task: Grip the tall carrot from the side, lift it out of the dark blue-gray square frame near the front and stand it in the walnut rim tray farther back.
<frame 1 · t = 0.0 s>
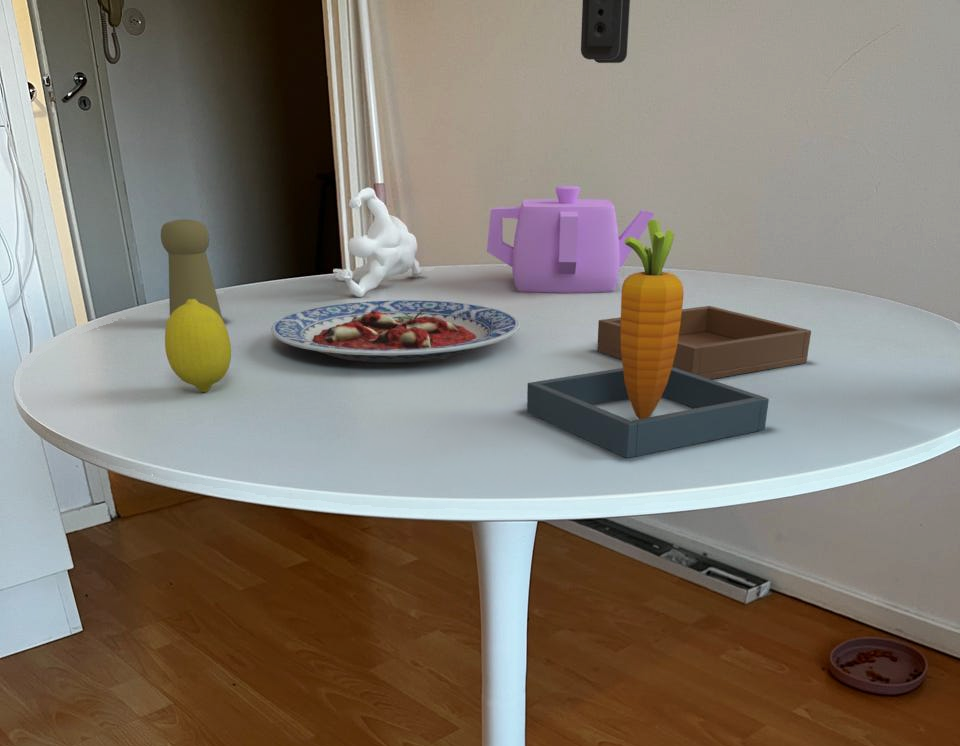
hand: (604, 61, 62), 25 cm above the table, tool pointing down, fingers open, 8 cm apart
walnut tray: (699, 356, 100), on the table
teakettle: (567, 285, 137), on the table
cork: (196, 324, 116), on the table
person figurine: (383, 290, 135), on the table
lemon: (204, 394, 90), on the table
carrot: (642, 423, 81), on the table
ceramic plate: (397, 346, 106), on the table
dark blue-gray square frame: (642, 421, 81), on the table
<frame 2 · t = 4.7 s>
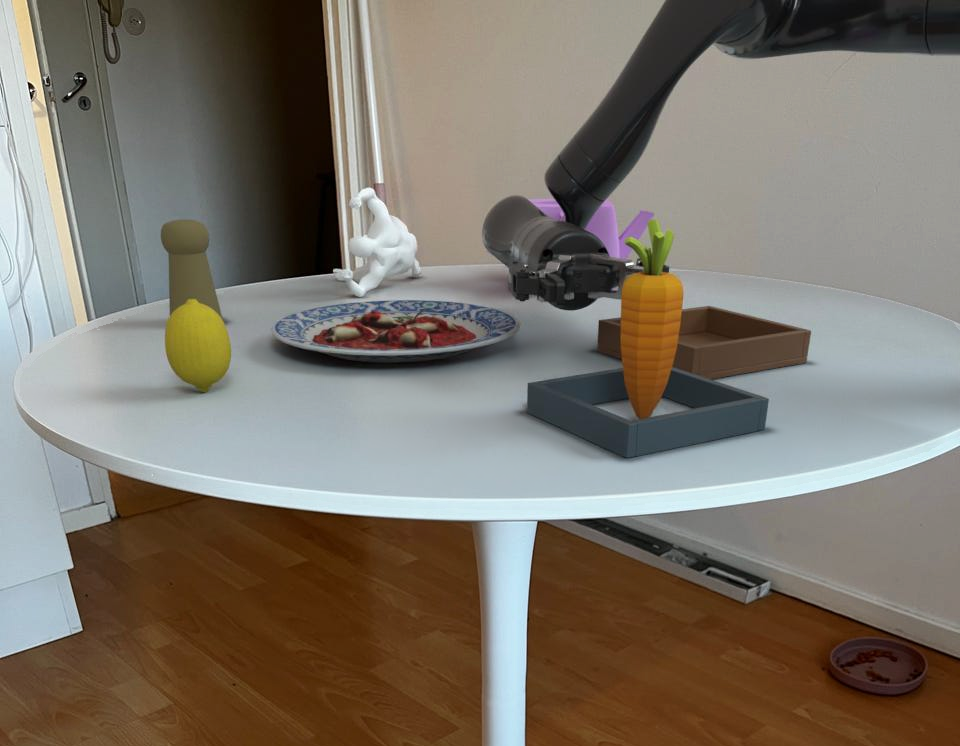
hand: (608, 292, 87), 8 cm above the table, tool horizontal, fingers open, 8 cm apart
nothing on the table moved.
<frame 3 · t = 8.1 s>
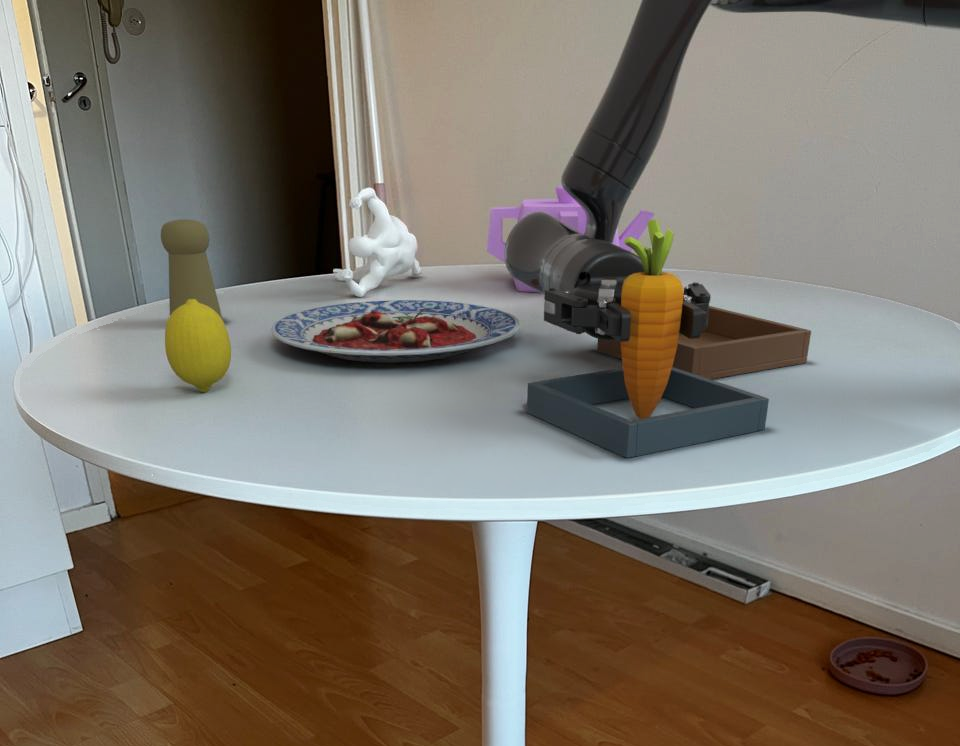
hand: (661, 326, 75), 8 cm above the table, tool horizontal, fingers closed on carrot, 5 cm apart
carrot: (642, 423, 81), on the table, touching gripper
everything else where it was.
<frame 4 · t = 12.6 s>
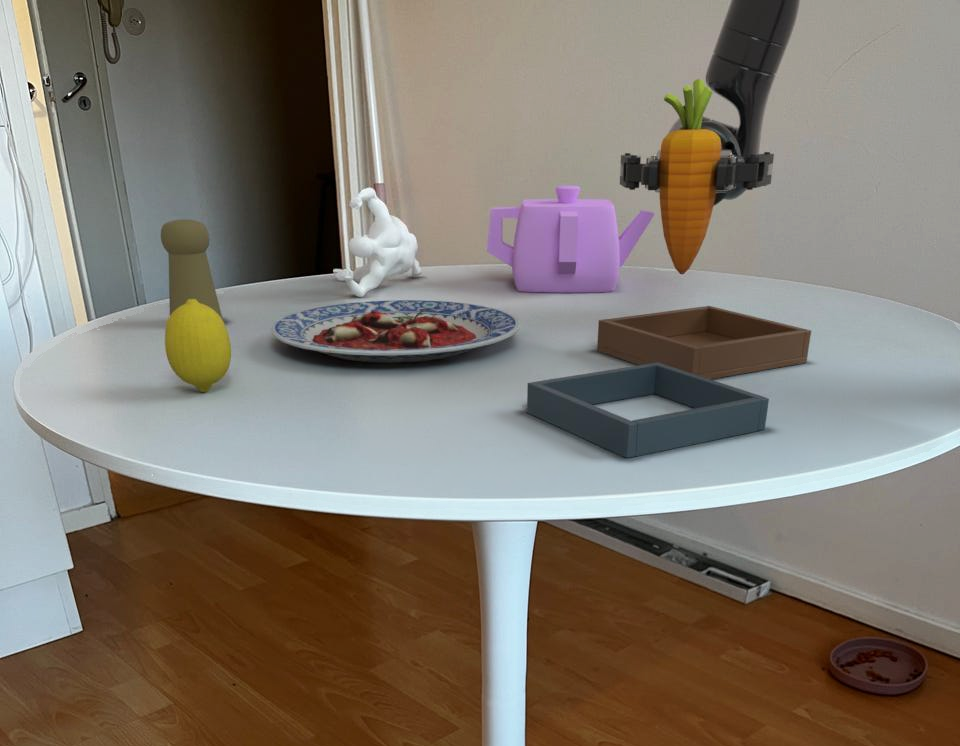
hand: (687, 176, 82), 17 cm above the table, tool horizontal, fingers closed on carrot, 5 cm apart
carrot: (681, 276, 88), point 9 cm above the table, touching gripper
everything else where it was.
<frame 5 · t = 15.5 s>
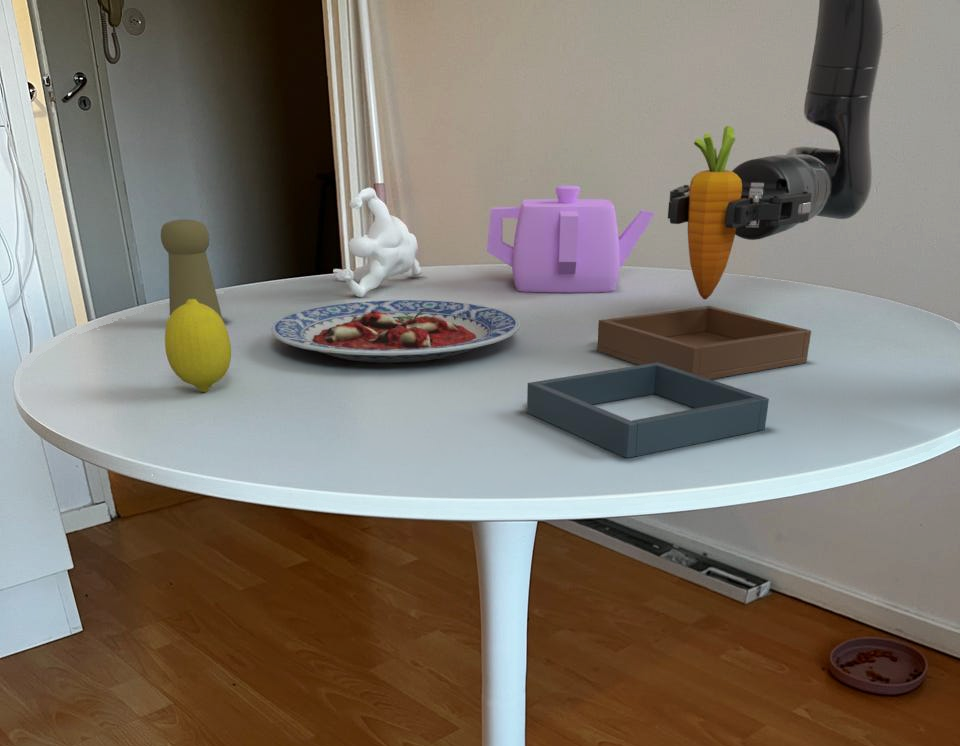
hand: (702, 213, 92), 13 cm above the table, tool horizontal, fingers closed on carrot, 5 cm apart
carrot: (704, 301, 98), point 5 cm above the table, touching gripper
everything else where it was.
when the fingers open (9 cm above the table, at t = 17.4 s): carrot stays where it is, resting on walnut tray.
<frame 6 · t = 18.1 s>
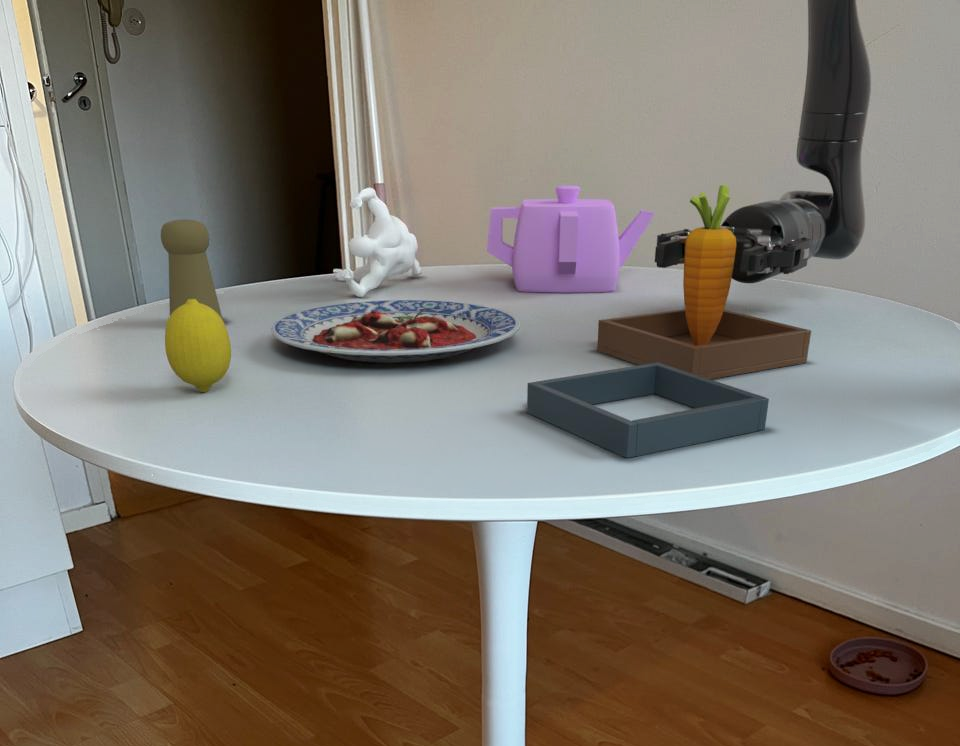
hand: (701, 259, 94), 9 cm above the table, tool horizontal, fingers open, 8 cm apart
carrot: (699, 352, 100), resting on walnut tray
everything else where it was.
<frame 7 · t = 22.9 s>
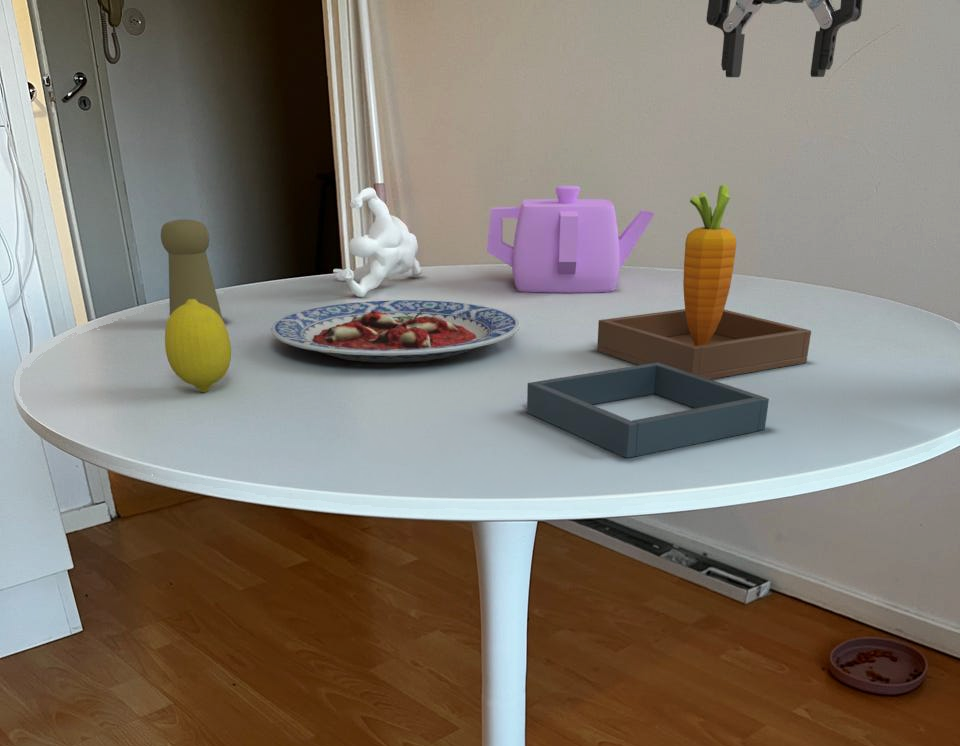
hand: (774, 77, 98), 24 cm above the table, tool pointing down, fingers open, 8 cm apart
nothing on the table moved.
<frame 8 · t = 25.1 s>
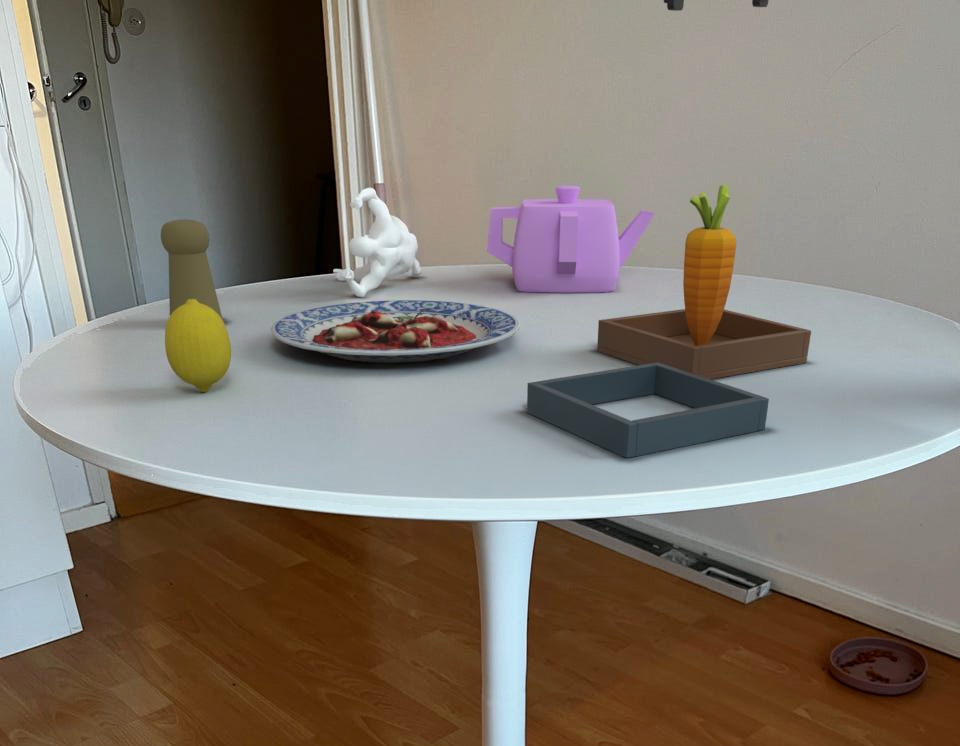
hand: (716, 8, 95), 30 cm above the table, tool pointing down, fingers open, 8 cm apart
nothing on the table moved.
at the end: carrot inside the target area in the walnut tray (0.1 cm from its centre), point 0.4 cm above the walnut tray's base; carrot tilted 0°; the gripper is holding nothing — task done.
